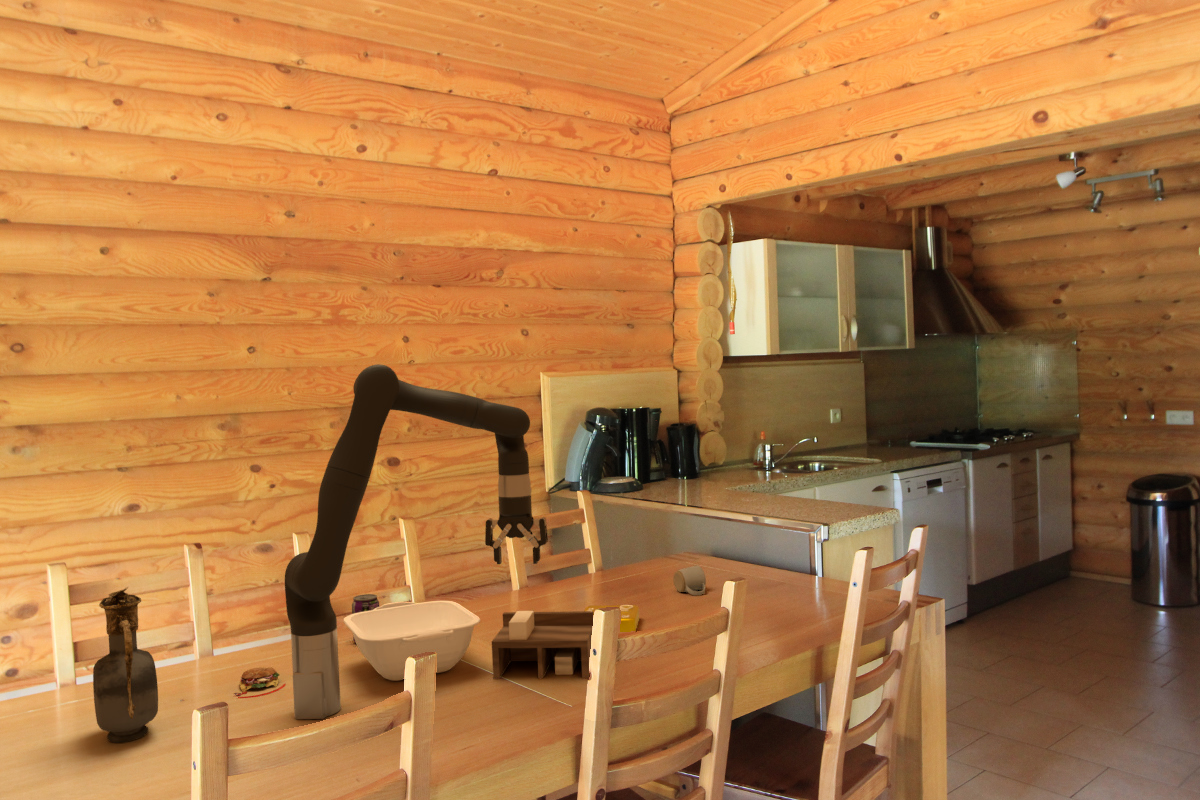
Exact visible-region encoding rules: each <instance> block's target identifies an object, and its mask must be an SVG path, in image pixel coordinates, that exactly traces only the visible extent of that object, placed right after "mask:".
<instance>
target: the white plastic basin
mask: <svg viewBox="0 0 1200 800" xmlns="http://www.w3.org/2000/svg"><path fill="white" fill-rule="evenodd" d="M343 623H344V625H345V626H346V627H347V628H348V629H349V630H350V631H351V633H352V637H353V636H354V639H355V644H356V646H357V648H358V650H359V652H360V653H361V654H362V656H364V658H365V659H366V660H367V662H368V663H369V664H370V666H371V667H373V669H374V670H375V671H376V672H377V674H379V675H380V676H381V677H383V679H386V680H389V681H392V682H393V681H394V682H395V681H398V682H399V681H402V680H403V678H404V669H405V661H406V659H407V658H408V657H409V656H412V655H416V654H421V653H425V652H436V653H437V673H436V674H440V673H444V672H447V671H450V670H451V669H452V668H454V667H455V666H456V665H457V663H459V662H460V660H461V659H462V658H463V657H464V655H465V654H466V652H467V650H468V648H469V646H470V644H471V640H472V636H473V631H474V627H475V626H477V625H479V624H480V623H481V618H480V617H479V616H478V615H476V614H475V613H473V612H471V611H470V610H468V609H467V608H465V607H464V606H462V605H461V604H459V603H458V602H455V601H452V600H433V601H425V602H418V603H417V602H413V601H410V602H409V601H408V602H407V601H396V602H389V603H385V604H382V605H379V607H377V608H375V609H373V610H371V611H364V612H359V613H354V614H352V613H351V614H348V615H347V616H345V617H344V618H343ZM403 681H404V680H403Z"/></svg>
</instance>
